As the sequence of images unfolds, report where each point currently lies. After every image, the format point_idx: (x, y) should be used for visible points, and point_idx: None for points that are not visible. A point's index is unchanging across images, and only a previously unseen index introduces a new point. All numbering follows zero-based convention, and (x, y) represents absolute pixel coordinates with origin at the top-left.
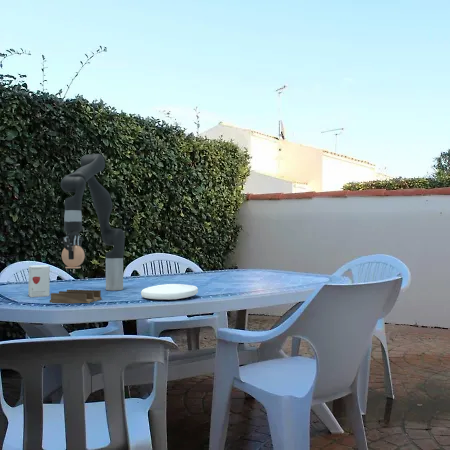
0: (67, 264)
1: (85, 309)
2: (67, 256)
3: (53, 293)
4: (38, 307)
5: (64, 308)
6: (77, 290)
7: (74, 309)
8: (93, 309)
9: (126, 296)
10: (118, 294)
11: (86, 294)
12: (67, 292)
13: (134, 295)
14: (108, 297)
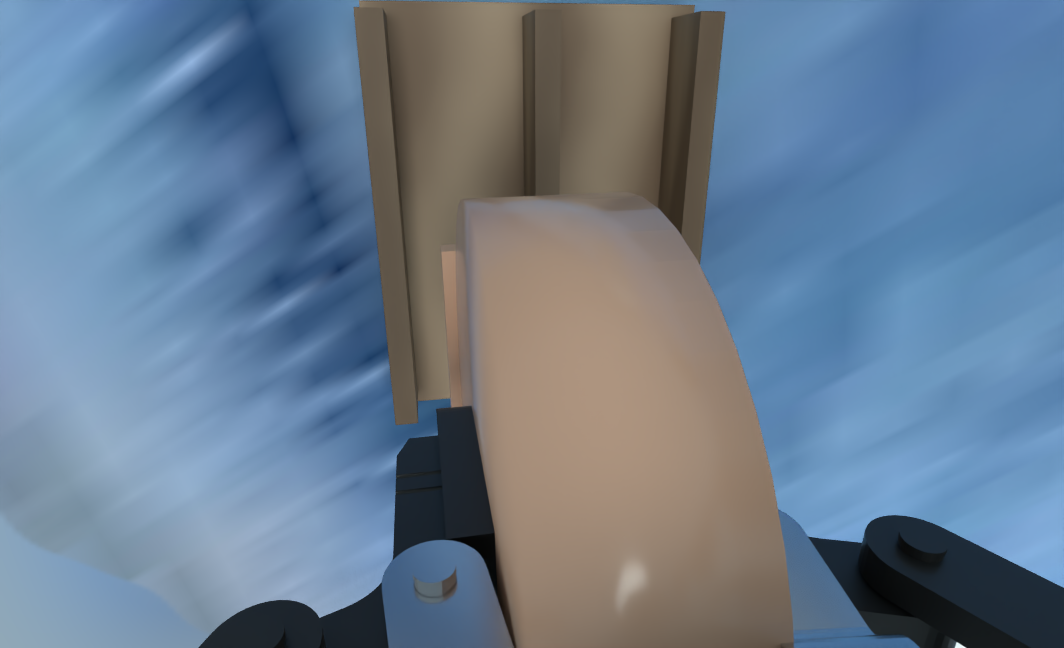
0: (458, 307)
1: (146, 534)
2: (476, 383)
3: (359, 49)
4: (36, 87)
5: (110, 365)
6: (685, 162)
7: (105, 466)
8: (172, 579)
9: (834, 451)
10: (950, 339)
11: (417, 420)
12: (533, 132)
13: (886, 475)
14: (777, 356)
